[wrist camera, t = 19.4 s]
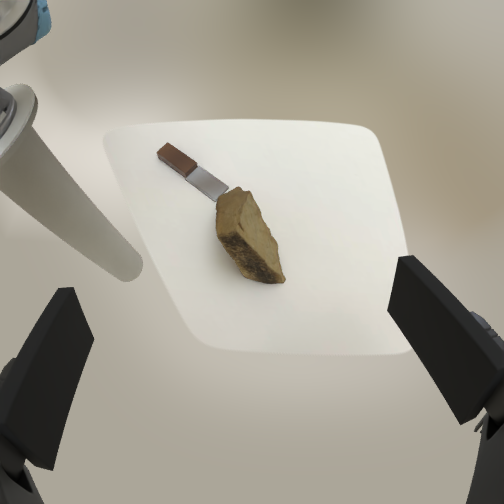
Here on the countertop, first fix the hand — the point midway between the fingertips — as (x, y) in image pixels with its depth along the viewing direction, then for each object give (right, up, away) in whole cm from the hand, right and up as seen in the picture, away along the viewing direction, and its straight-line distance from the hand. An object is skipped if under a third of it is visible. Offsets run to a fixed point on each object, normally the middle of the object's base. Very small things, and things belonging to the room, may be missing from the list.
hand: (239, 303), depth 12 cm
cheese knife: (-7, +12, +25) cm, 28 cm away
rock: (0, +3, +23) cm, 23 cm away
